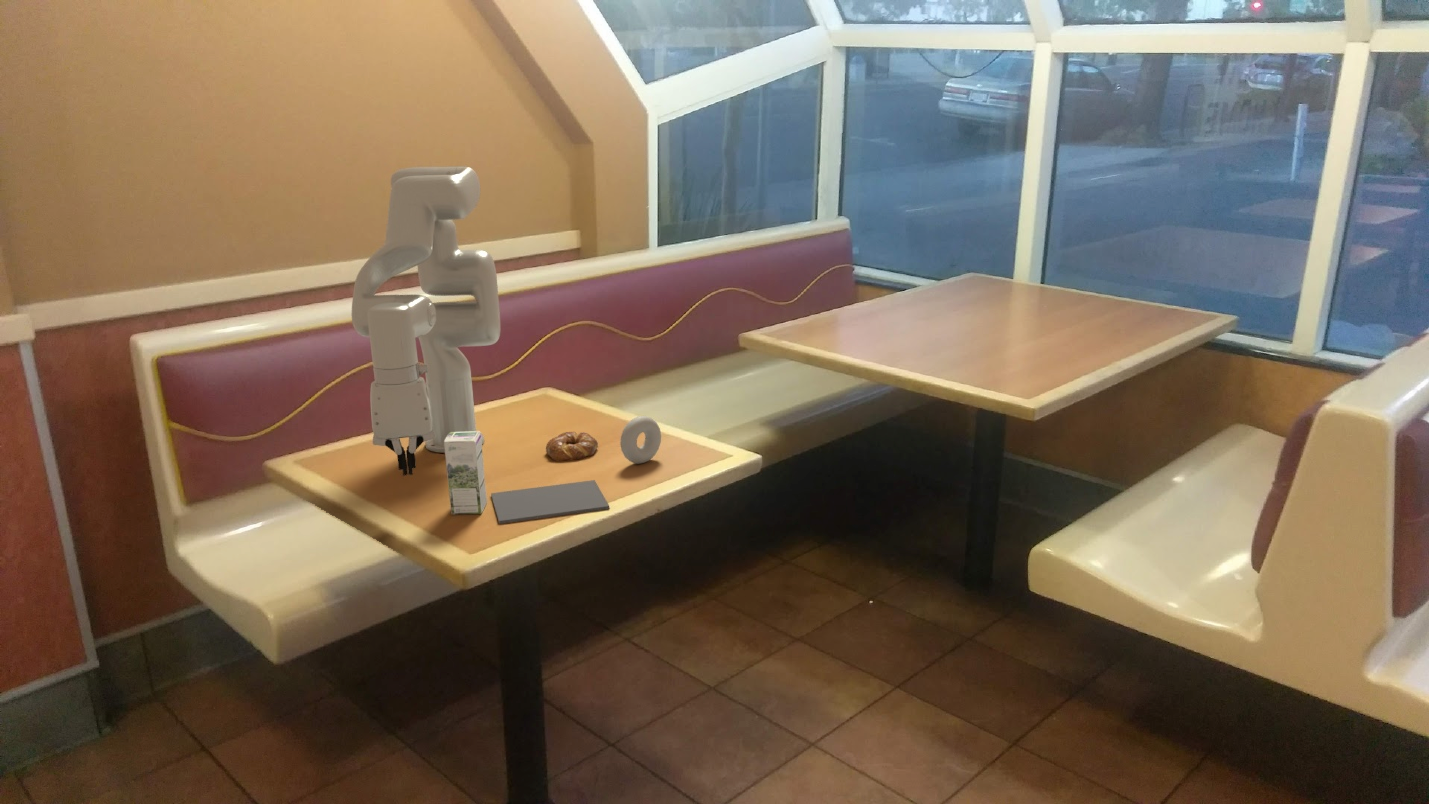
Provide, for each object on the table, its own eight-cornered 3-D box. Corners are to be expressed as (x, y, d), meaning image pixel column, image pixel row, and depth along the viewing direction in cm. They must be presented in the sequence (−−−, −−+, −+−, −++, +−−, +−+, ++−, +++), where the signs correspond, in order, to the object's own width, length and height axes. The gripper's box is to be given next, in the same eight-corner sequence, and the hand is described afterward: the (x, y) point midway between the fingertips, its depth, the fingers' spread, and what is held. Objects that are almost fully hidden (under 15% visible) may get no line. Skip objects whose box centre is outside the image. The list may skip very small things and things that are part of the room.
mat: (491, 496, 193) (491, 493, 192) (594, 482, 198) (594, 480, 198) (499, 524, 180) (499, 520, 180) (609, 508, 186) (609, 505, 185)
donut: (654, 454, 213) (652, 409, 211) (665, 458, 211) (663, 412, 208) (617, 466, 207) (615, 420, 204) (628, 470, 204) (626, 424, 202)
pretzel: (575, 466, 209) (573, 450, 207) (534, 458, 214) (532, 442, 213) (609, 448, 218) (608, 432, 217) (569, 441, 224) (567, 425, 223)
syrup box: (487, 502, 190) (481, 429, 186) (482, 515, 184) (475, 439, 180) (457, 503, 190) (450, 430, 185) (450, 515, 184) (442, 440, 180)
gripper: (439, 365, 182) (449, 460, 187) (352, 373, 178) (364, 470, 183) (441, 375, 175) (451, 474, 180) (350, 383, 171) (363, 485, 176)
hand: (408, 472), depth 182 cm, fingers closed
